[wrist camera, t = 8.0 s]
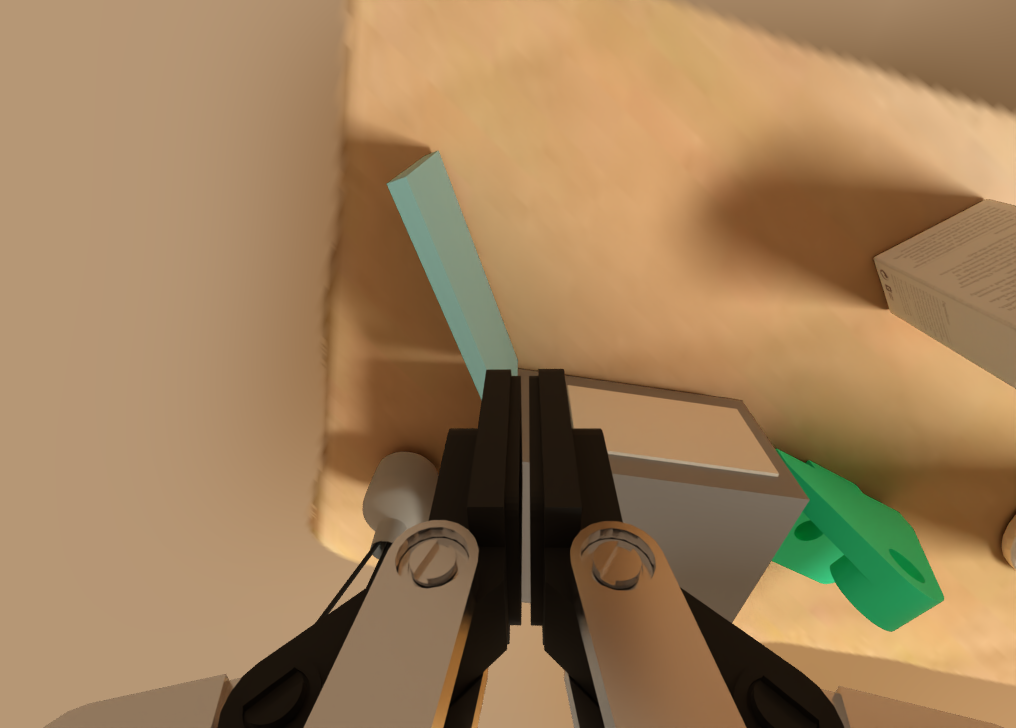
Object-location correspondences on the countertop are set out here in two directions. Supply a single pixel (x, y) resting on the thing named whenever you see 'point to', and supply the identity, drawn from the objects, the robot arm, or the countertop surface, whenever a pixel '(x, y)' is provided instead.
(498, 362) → the side door
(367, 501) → the reed diffuser
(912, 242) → the skincare box
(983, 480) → the countertop surface
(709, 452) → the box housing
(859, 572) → the camera mount
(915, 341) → the countertop surface
